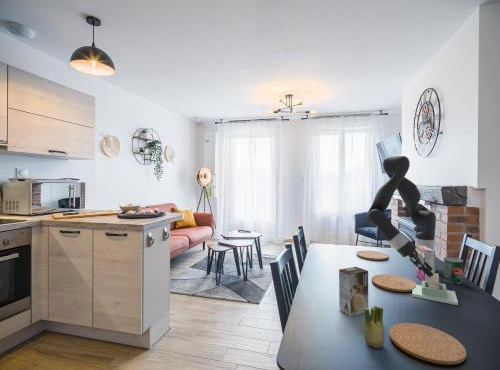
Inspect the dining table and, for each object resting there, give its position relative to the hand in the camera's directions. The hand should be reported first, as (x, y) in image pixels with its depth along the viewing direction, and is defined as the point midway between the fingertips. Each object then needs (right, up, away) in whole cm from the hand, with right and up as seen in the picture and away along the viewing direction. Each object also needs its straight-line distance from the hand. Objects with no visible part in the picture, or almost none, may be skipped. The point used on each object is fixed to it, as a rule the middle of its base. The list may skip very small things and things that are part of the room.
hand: (431, 273), depth 121 cm
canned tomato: (+22, -10, +17) cm, 29 cm away
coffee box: (-40, -10, -15) cm, 44 cm away
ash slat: (+1, -8, 0) cm, 8 cm away
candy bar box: (+9, -10, +18) cm, 22 cm away
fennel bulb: (-42, -10, -37) cm, 57 cm away
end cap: (+1, -10, 0) cm, 10 cm away
